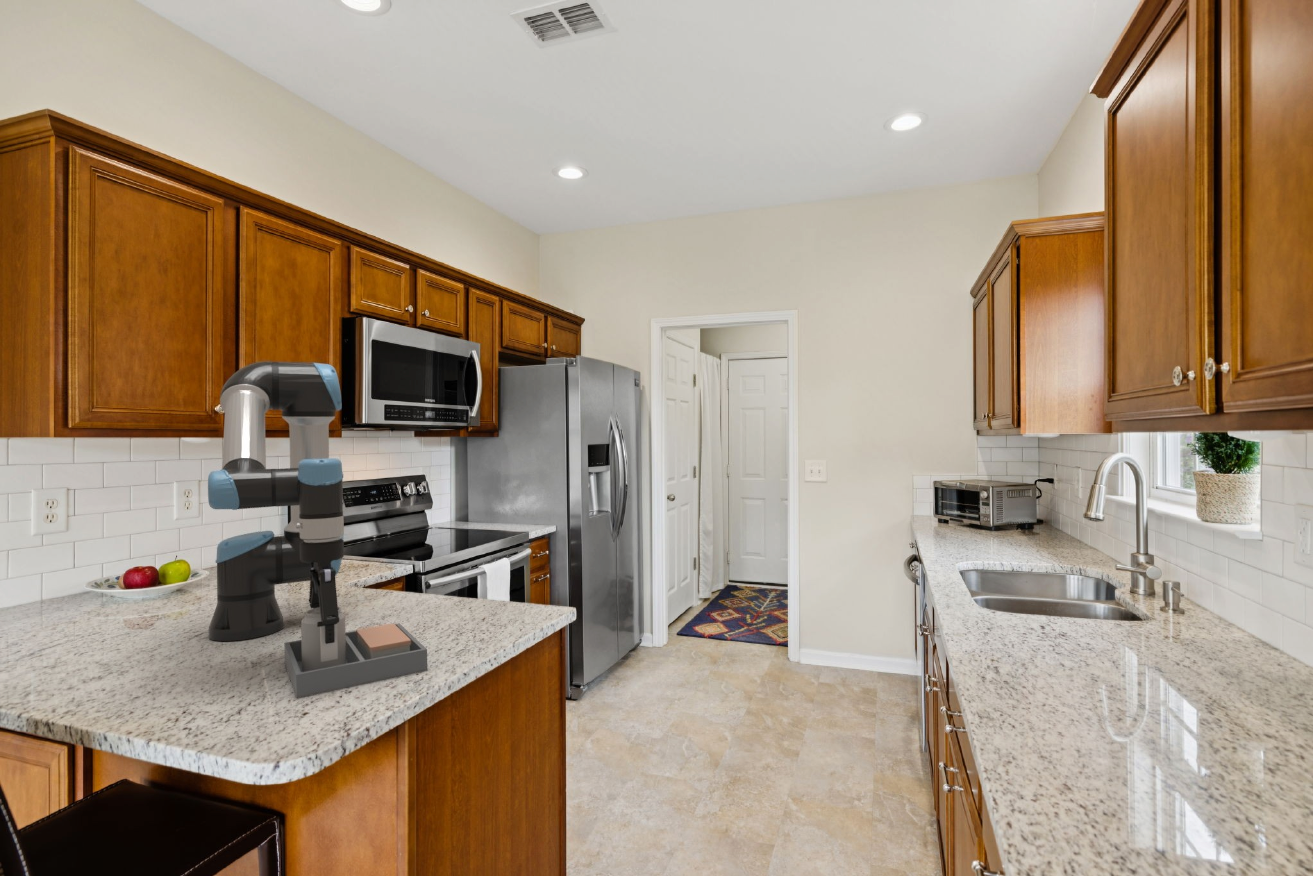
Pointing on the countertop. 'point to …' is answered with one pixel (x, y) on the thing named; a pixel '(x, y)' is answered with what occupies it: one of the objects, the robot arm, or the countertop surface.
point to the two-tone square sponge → (382, 641)
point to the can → (312, 641)
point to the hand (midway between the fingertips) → (323, 650)
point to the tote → (352, 667)
